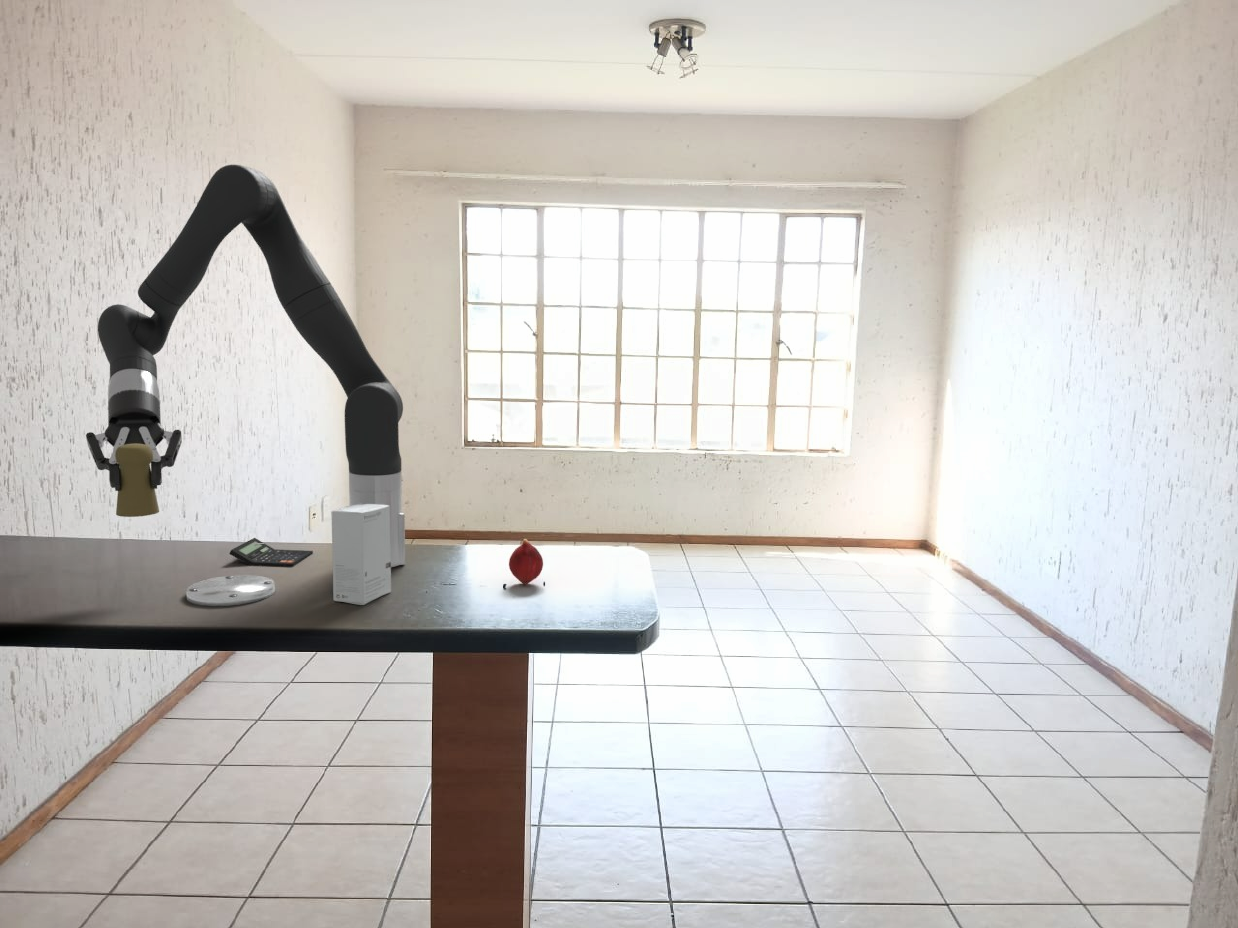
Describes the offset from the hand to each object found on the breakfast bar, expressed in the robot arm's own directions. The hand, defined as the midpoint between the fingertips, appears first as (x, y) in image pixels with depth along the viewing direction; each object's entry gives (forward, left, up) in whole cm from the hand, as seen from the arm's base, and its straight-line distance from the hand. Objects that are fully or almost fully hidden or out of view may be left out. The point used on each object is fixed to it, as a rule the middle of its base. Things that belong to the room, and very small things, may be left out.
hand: (136, 486), depth 136 cm
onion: (-59, +16, -18) cm, 64 cm away
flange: (-13, +4, -17) cm, 22 cm away
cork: (0, -2, -5) cm, 5 cm away
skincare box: (-32, +13, -18) cm, 39 cm away
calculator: (-21, -16, -18) cm, 32 cm away
